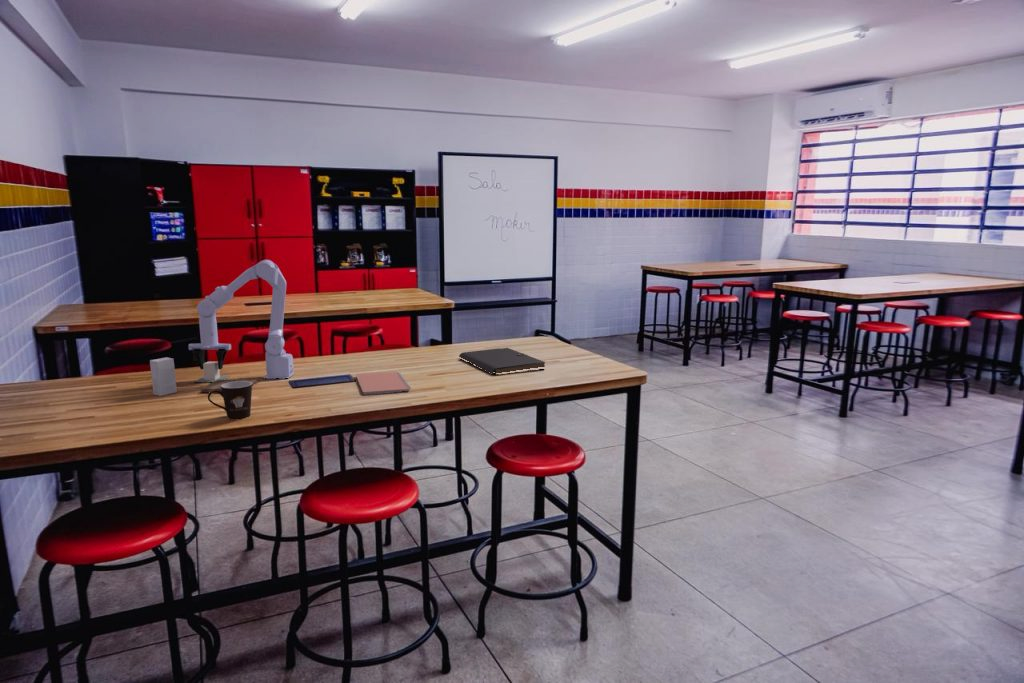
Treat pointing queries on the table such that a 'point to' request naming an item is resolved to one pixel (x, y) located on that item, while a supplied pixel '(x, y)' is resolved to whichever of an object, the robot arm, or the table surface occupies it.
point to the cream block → (211, 371)
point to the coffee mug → (235, 399)
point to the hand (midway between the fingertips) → (211, 368)
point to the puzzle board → (217, 385)
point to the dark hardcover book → (501, 360)
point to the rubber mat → (210, 380)
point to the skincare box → (163, 376)
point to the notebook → (382, 383)
